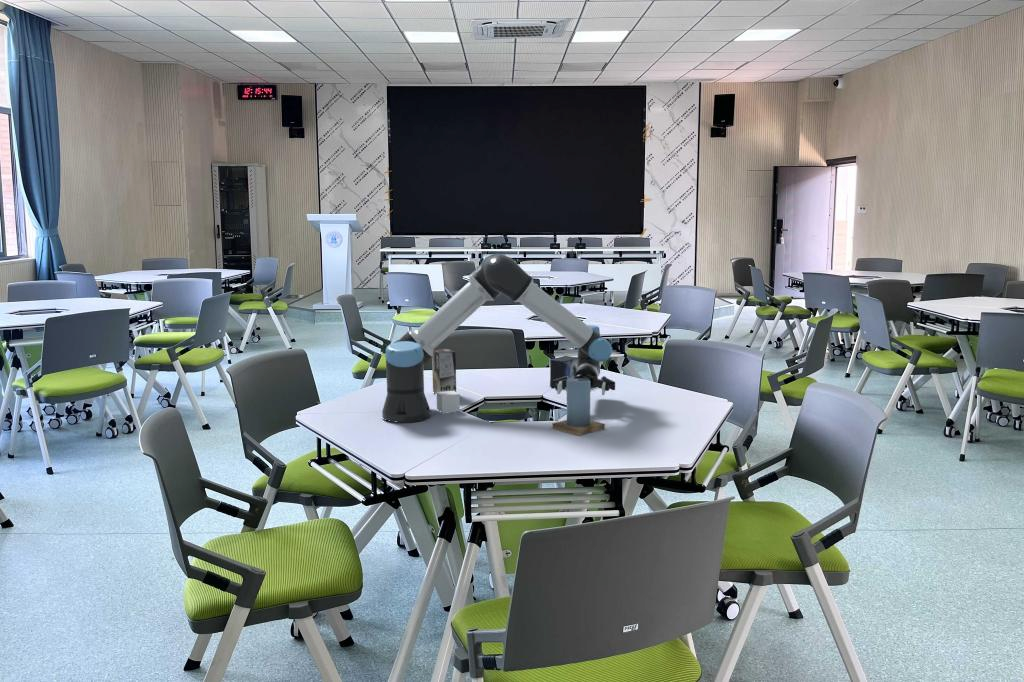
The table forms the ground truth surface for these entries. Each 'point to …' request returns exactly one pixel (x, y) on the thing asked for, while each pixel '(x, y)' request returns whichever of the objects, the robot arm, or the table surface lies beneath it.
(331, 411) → the table surface
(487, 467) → the table surface
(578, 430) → the board
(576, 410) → the grey cylinder
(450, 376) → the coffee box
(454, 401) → the grey cube
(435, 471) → the table surface
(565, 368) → the small box
